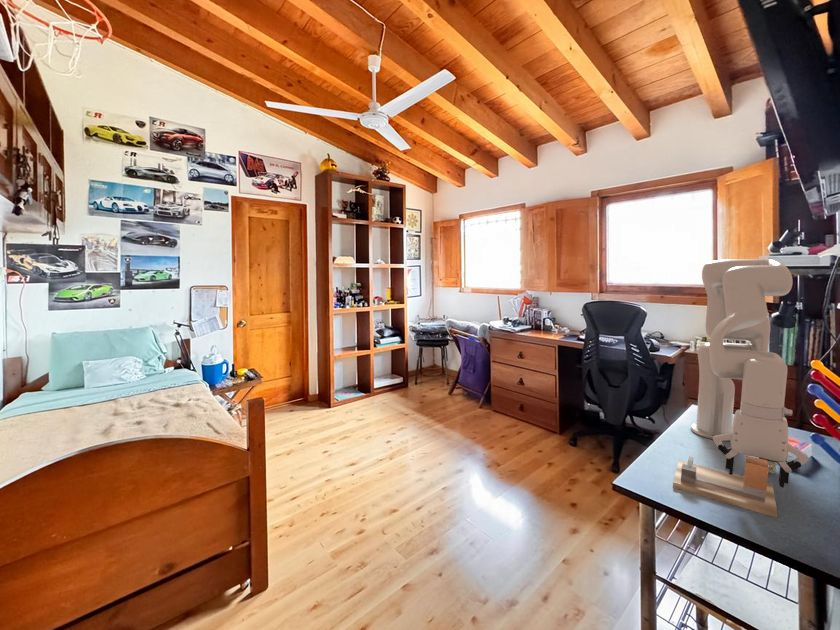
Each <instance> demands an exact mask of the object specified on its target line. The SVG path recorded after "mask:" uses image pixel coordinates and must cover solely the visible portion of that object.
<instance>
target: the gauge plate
mask: <svg viewBox="0 0 840 630" xmlns="http://www.w3.org/2000/svg"><path fill="white" fill-rule="evenodd" d="M743 480H744V475H740V474H736V473H733V475H730V474H729V471H723V470H721V469H720V470H719V469H716V468H712V467H707V466H703V465H700V464H695V463H694V457H693V456H690V455H689V456H688V460H687V461H685V460H680V459H679V460H678V463H677V467H676V470H675V473H674V478H673V482H672V488H673V489H677V490H679V491H683V492H687V493H690V494H693V495H696V496H697V495H698V496H701V497H704V498H708V499H710V500H715V501H718V502H722V503H726V504H728V505H730V506H731V505H732V506H735V507H738V508H742V509H745V510H748V511H752V512H756V513H759V514H762V515H766V516H769V517H772V518H777V517H778V509H777V503H776V497H775V491H774V484H773V483H771V482H768V481H767V489H766V498H762V497H758V496H755V495H751V494H747V493H744V492H743Z"/></svg>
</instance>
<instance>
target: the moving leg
mask: <svg viewBox="0 0 840 630" xmlns="http://www.w3.org/2000/svg"><path fill="white" fill-rule="evenodd" d="M768 468H769V467H768V461H767V460H763V459H759V458H758V457H754V456H749V455H745V458H744V468H743V469H744V470H743V476H744V480H743V492H744V493H747V494H751V495H755V496H758V497H762V498H766V489H767V482H768V476H769V472H768Z"/></svg>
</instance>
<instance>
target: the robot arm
mask: <svg viewBox="0 0 840 630" xmlns="http://www.w3.org/2000/svg"><path fill="white" fill-rule="evenodd" d="M701 280H702V283H703V286H704V289H705V292H706V296H707V302H706V303H707V304H706V316H705V332H706V335H707V336H708V337H709V342H705V343H702V344H701V345H700V346H698V349H697V361H698V369H699V374H698V375H699V378H698V380H699V381H698V396H697V410H696V411H697V413H696V422H693V423H692V424H691V425H690V430H691V431H692V432H693V433H695V434H696V435H698V436H700V437H703V438H707V439H709V440H710V439H711V440H713V442H714V443H715V445H716V447H717V449H718V450H719V451H720V452H721V453H722V455H724V456H725V459H726V460H725V469H727V470H728V473H729V474H730V475H733V474H734V463H735V461H734V460H735V456H737V455H738V454H741V455H745V456H750V457H754V458H763V459H767V460H772V461H777V462H778V463H777V462H776V463H777V464H778V465H780V466H779V471H778V473H779V474H778V484H779V487H780V488H782V489H785V484H787V485H788V484H789V478H790V473H792V472H793V471H794V470H797V469H799V468H801V467H802V466H803V465H804V464H806V463H807V462H808V461H810V458H809V455H808V454H806V453H805V452H803V451H802V450H800V449H798V448H796V447H795V446H794V445H792V444H790V443H789V425H788V420H787V419H788V418H786V416H791V417H792V416H793V409H788V408H786V406H785V399H786V398H785V397H786V390H787V389H786V388H787V379H788V365H787V363H786V362H785V360H784V359H782V357H781V356H780V355H779V354H778V353H775V352H772V351H769V343H770V334H771V323H770V320H769V319H770V318H769V312H768V306H767V302H766V300H767V299H766V297H783V296H786V295H787V294H789V293H790V291H791V290H792V287H793V275H792V273H791V271H790V269H789V268H788V267H787V266H786V265H784V264H783V263H781V262H780V261H777V260H775V259H772V258H745V259H740V258H739V259H737V258H736V259H734V258H733V259H719V260H712V261H709V262H707V263H705V264H704V265H703V267H702V270H701ZM724 340H726V341H727V340H728V341H729V340H730V341H744V342H745V341H746V342H747V343H736V342H735V343H733V342H724ZM732 379H733V380H742V383H741V384H742V385H741V395H740V396H741V397H740V407H739V409H736V410H735V413H734V405H735V394H736V393H735V391H736V386H735V383H734V381H733V380H732ZM723 441H724V442H726V441H727V442H730V447H726V445H725V444H723ZM789 453H791V454H792V455H793V456H795V457H796V458H795V459H792V460H790V461H788V456H789Z"/></svg>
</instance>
